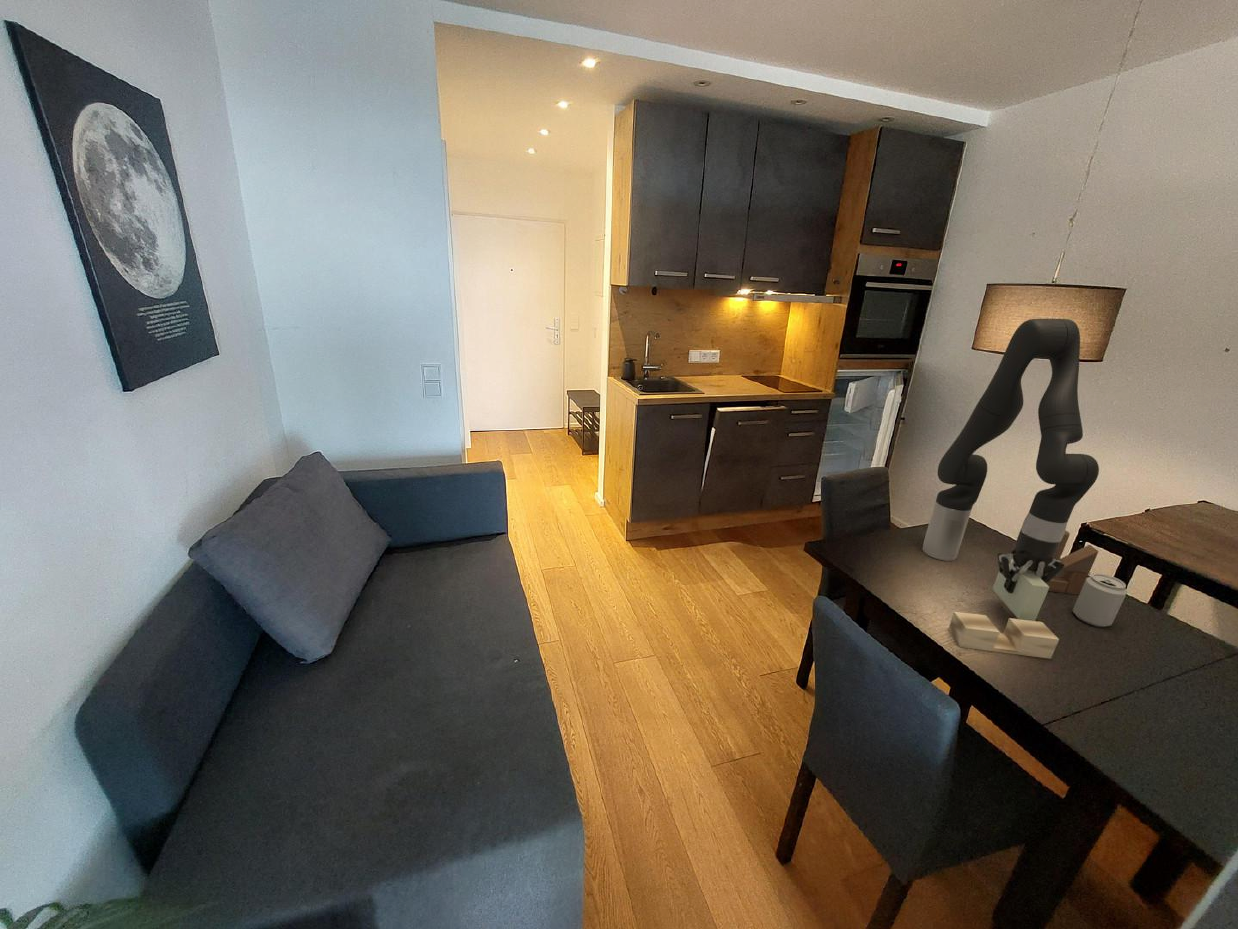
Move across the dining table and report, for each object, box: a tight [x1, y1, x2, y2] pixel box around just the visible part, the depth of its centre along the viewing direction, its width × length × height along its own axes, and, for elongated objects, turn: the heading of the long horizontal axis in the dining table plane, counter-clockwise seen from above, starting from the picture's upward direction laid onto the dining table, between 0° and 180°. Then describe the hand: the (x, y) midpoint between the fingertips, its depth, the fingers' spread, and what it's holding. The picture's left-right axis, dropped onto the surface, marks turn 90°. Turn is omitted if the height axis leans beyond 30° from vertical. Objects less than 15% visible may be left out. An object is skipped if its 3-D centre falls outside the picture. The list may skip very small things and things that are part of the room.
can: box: [1072, 572, 1128, 628], centre depth 120 cm, size 8×8×12 cm
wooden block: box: [1043, 530, 1099, 596], centre depth 131 cm, size 4×11×18 cm, turn 77°
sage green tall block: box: [992, 559, 1049, 621], centre depth 119 cm, size 12×4×10 cm, turn 170°
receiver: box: [947, 611, 1060, 659], centre depth 113 cm, size 6×19×6 cm, turn 80°
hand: (1017, 592), depth 120 cm, fingers closed on sage green tall block, 3 cm apart
